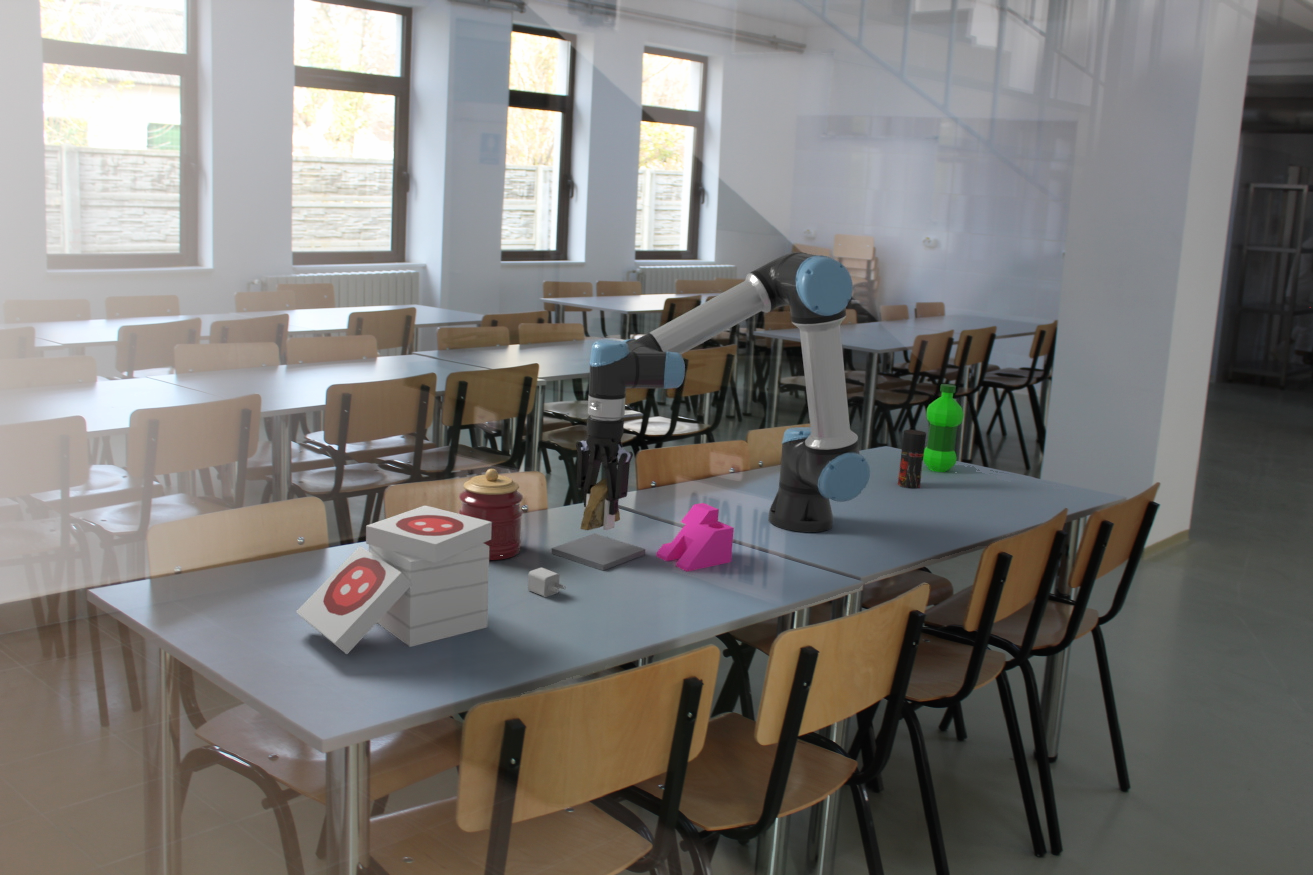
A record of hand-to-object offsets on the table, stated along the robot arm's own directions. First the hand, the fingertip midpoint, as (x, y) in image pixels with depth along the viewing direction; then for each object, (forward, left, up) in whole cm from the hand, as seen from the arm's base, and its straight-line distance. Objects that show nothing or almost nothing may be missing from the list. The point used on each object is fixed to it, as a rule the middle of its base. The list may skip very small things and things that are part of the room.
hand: (599, 525), depth 227 cm
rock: (0, 0, 0) cm, 0 cm away
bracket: (-16, -12, -7) cm, 21 cm away
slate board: (0, 0, -6) cm, 6 cm away
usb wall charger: (-8, +24, -7) cm, 26 cm away
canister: (+17, +15, -6) cm, 23 cm away
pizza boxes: (-1, +54, -7) cm, 54 cm away
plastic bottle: (-22, -129, -6) cm, 131 cm away
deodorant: (-23, -105, -6) cm, 108 cm away
